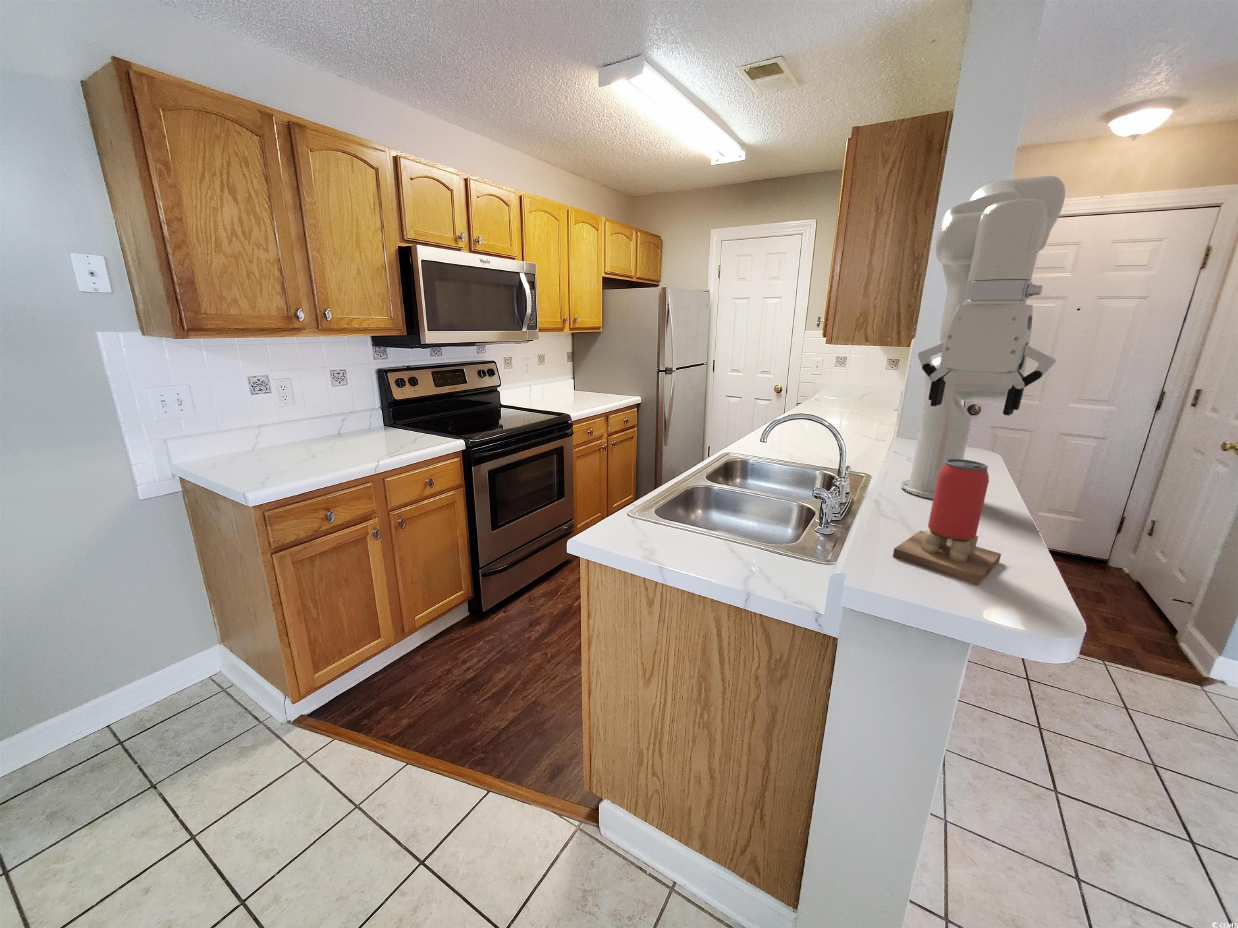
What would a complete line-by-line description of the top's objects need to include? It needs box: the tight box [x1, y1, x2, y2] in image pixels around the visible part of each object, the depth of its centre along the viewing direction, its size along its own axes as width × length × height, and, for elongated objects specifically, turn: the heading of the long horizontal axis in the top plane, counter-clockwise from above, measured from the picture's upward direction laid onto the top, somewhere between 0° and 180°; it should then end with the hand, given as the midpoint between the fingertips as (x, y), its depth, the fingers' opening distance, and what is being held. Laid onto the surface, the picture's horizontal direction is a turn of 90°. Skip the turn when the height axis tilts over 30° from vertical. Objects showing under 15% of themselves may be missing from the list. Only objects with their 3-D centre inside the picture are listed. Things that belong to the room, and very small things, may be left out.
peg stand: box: [892, 530, 1002, 586], centre depth 80 cm, size 12×12×4 cm
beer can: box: [927, 459, 990, 541], centre depth 78 cm, size 7×7×12 cm
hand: (970, 409), depth 77 cm, fingers open, 9 cm apart
